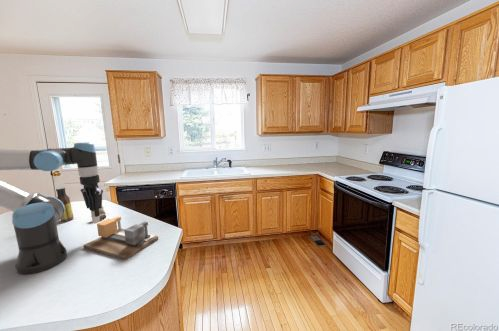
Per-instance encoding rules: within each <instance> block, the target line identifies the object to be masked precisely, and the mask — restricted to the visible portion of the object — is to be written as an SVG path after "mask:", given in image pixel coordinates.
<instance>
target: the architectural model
mask: <svg viewBox="0 0 499 331" xmlns="http://www.w3.org/2000/svg"><path fill="white" fill-rule="evenodd" d="M106 214H107V213H106V211H105V210H104V206H102V208H100V209H99V216H100V220H103V219H104V218H105V219H106V218H107V215H106ZM90 217H91V218H92V215H90Z"/></svg>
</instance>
